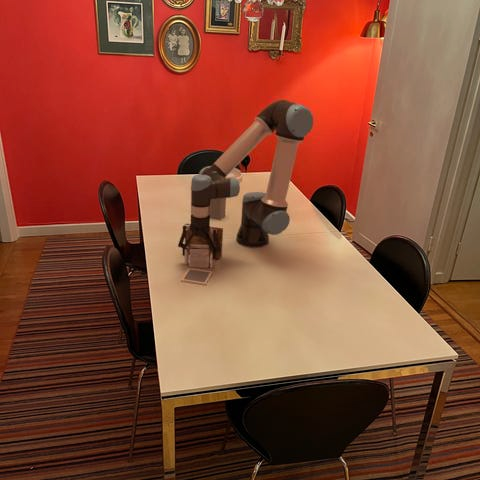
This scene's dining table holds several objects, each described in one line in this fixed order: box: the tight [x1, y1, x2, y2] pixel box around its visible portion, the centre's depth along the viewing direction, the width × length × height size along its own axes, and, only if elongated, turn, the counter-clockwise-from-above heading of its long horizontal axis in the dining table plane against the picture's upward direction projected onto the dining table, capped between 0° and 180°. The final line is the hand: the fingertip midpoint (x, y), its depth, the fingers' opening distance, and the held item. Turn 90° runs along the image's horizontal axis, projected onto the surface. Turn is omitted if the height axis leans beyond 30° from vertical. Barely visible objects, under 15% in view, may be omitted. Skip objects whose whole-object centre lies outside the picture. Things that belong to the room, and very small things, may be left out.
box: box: [189, 244, 210, 269], centre depth 192 cm, size 8×4×9 cm, turn 92°
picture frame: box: [180, 267, 213, 286], centre depth 184 cm, size 10×10×1 cm
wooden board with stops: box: [184, 222, 224, 260], centre depth 200 cm, size 16×5×13 cm, turn 79°
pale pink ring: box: [207, 165, 243, 184], centre depth 301 cm, size 27×27×6 cm
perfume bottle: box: [209, 198, 227, 221], centre depth 239 cm, size 7×7×18 cm
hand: (199, 264), depth 193 cm, fingers open, 10 cm apart
